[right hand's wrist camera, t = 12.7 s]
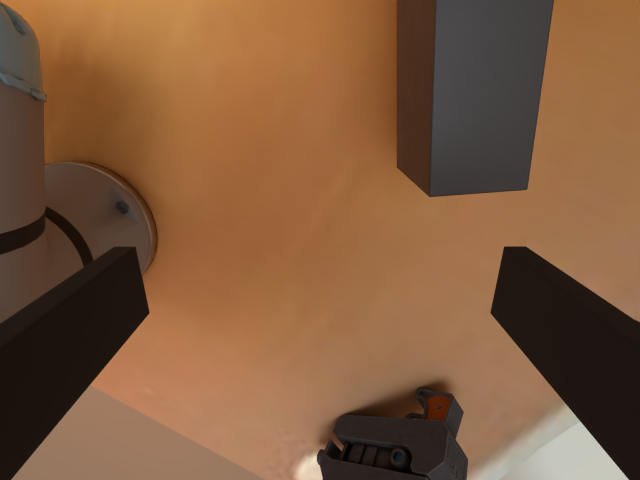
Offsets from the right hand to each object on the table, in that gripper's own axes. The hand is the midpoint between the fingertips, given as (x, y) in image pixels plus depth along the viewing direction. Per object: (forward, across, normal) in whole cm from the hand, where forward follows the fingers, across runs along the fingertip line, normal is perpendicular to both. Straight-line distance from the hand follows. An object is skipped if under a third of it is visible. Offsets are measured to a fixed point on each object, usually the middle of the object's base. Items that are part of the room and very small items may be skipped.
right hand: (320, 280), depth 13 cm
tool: (+26, -9, +34) cm, 44 cm away
